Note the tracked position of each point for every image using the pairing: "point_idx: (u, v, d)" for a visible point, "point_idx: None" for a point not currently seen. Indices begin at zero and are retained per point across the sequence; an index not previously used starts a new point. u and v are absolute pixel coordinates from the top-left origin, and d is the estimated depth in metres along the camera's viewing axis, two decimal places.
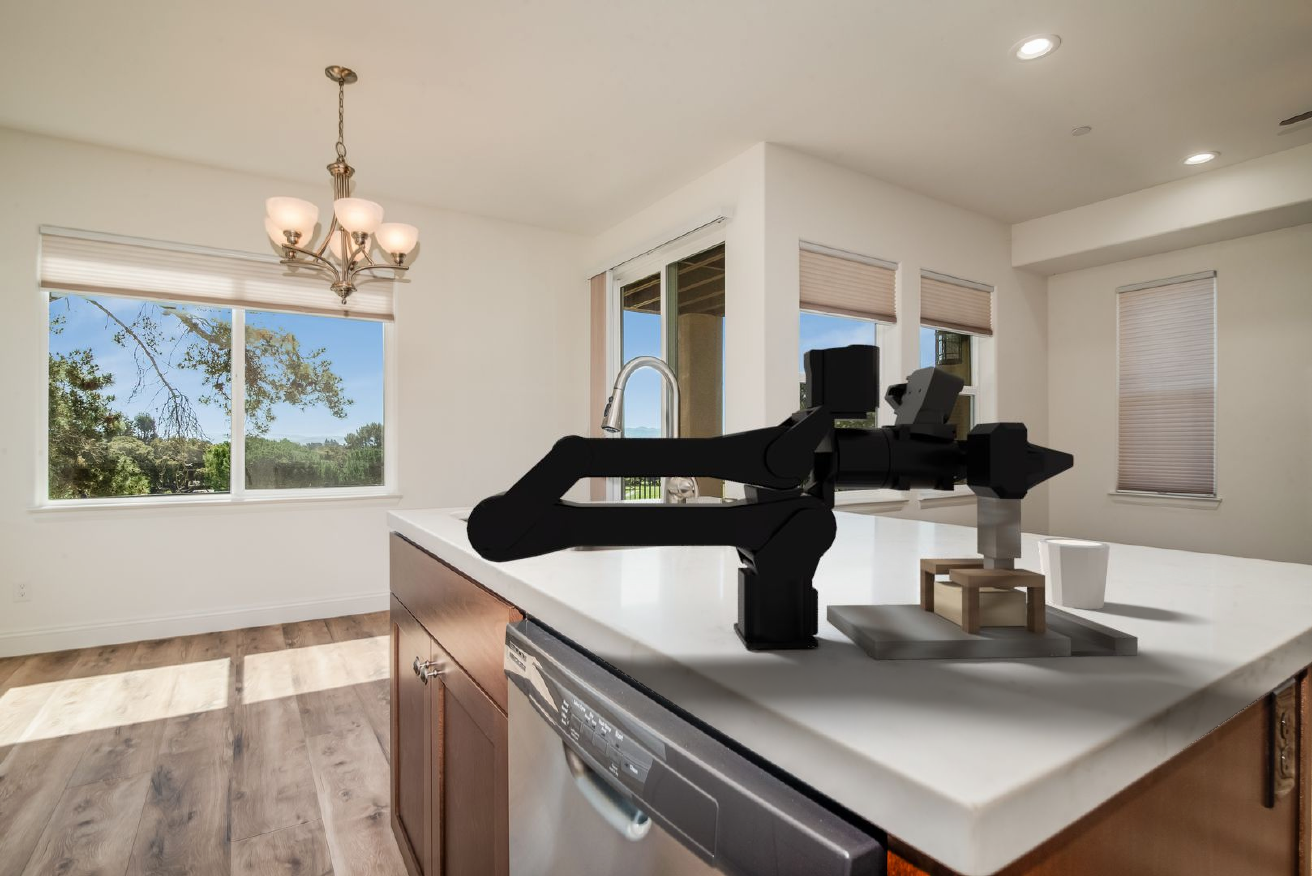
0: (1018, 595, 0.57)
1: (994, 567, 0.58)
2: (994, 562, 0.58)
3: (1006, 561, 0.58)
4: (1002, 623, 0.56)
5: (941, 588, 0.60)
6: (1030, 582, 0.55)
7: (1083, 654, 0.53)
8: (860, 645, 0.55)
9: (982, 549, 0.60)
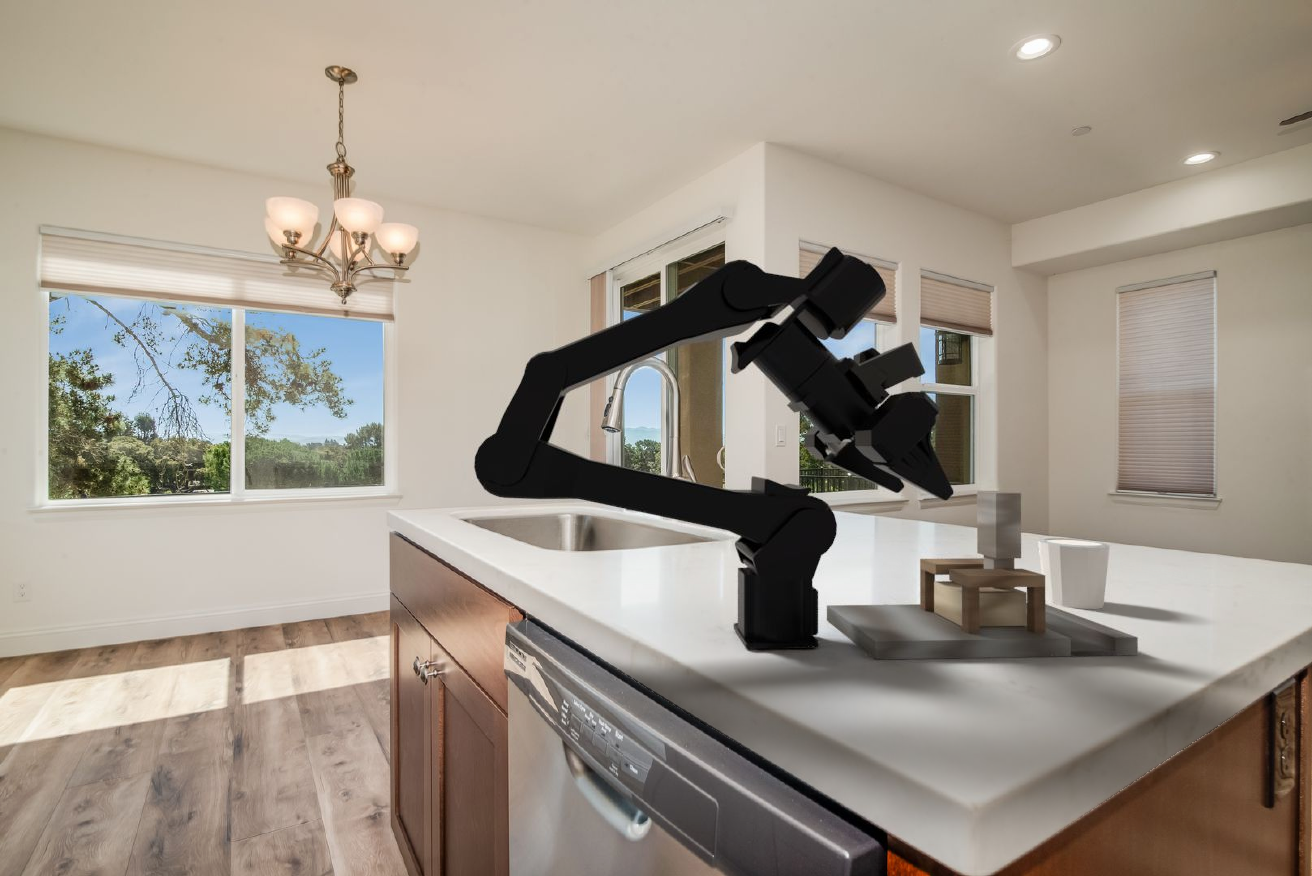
0: (1018, 595, 0.57)
1: (994, 567, 0.58)
2: (994, 562, 0.58)
3: (1006, 561, 0.58)
4: (1002, 623, 0.56)
5: (941, 588, 0.60)
6: (1030, 582, 0.55)
7: (1083, 654, 0.53)
8: (860, 645, 0.55)
9: (982, 549, 0.60)
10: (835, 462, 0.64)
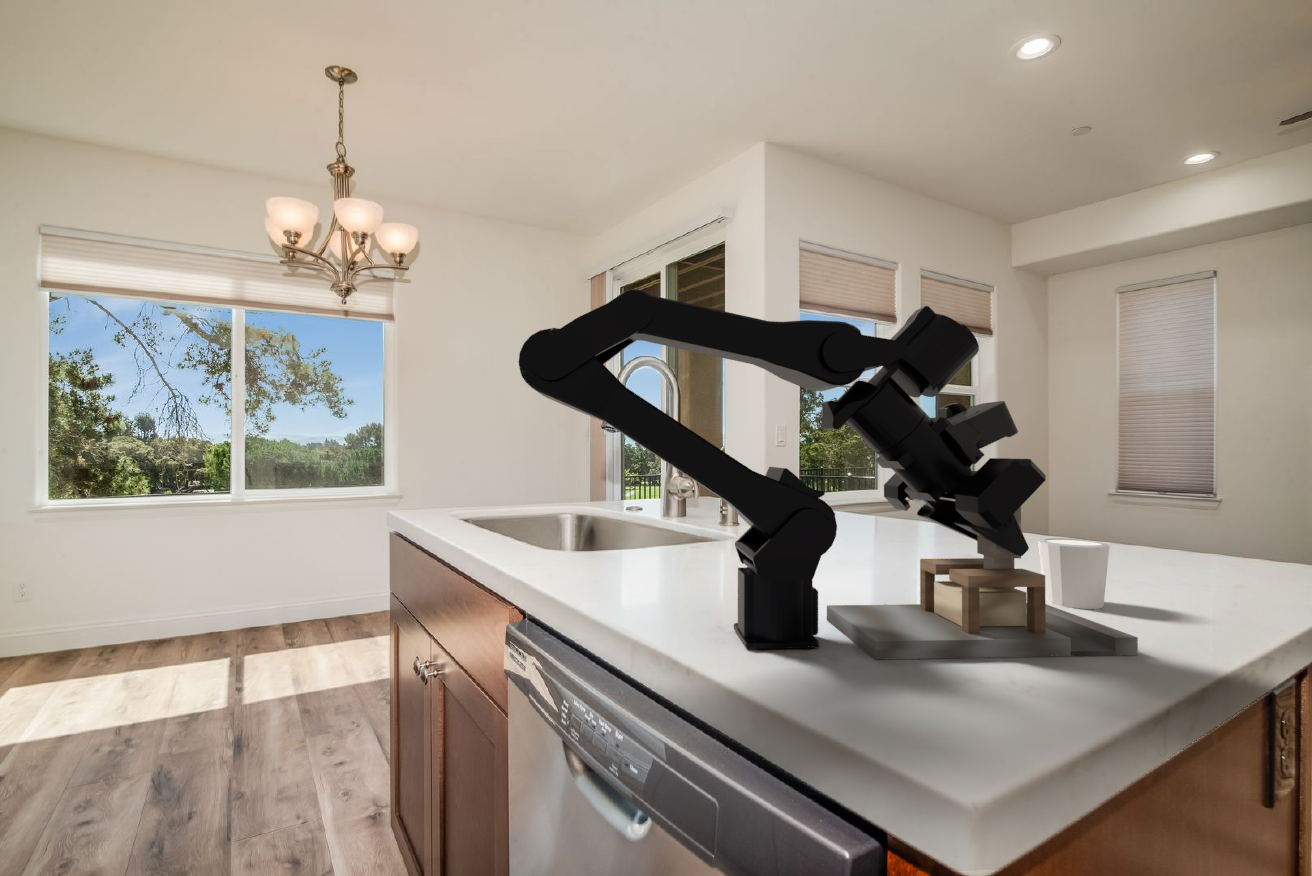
0: (1018, 595, 0.57)
1: (994, 567, 0.58)
2: (994, 562, 0.58)
3: (1006, 561, 0.58)
4: (1002, 623, 0.56)
5: (941, 588, 0.60)
6: (1030, 582, 0.55)
7: (1083, 654, 0.53)
8: (860, 645, 0.55)
9: (982, 549, 0.60)
10: (933, 517, 0.61)
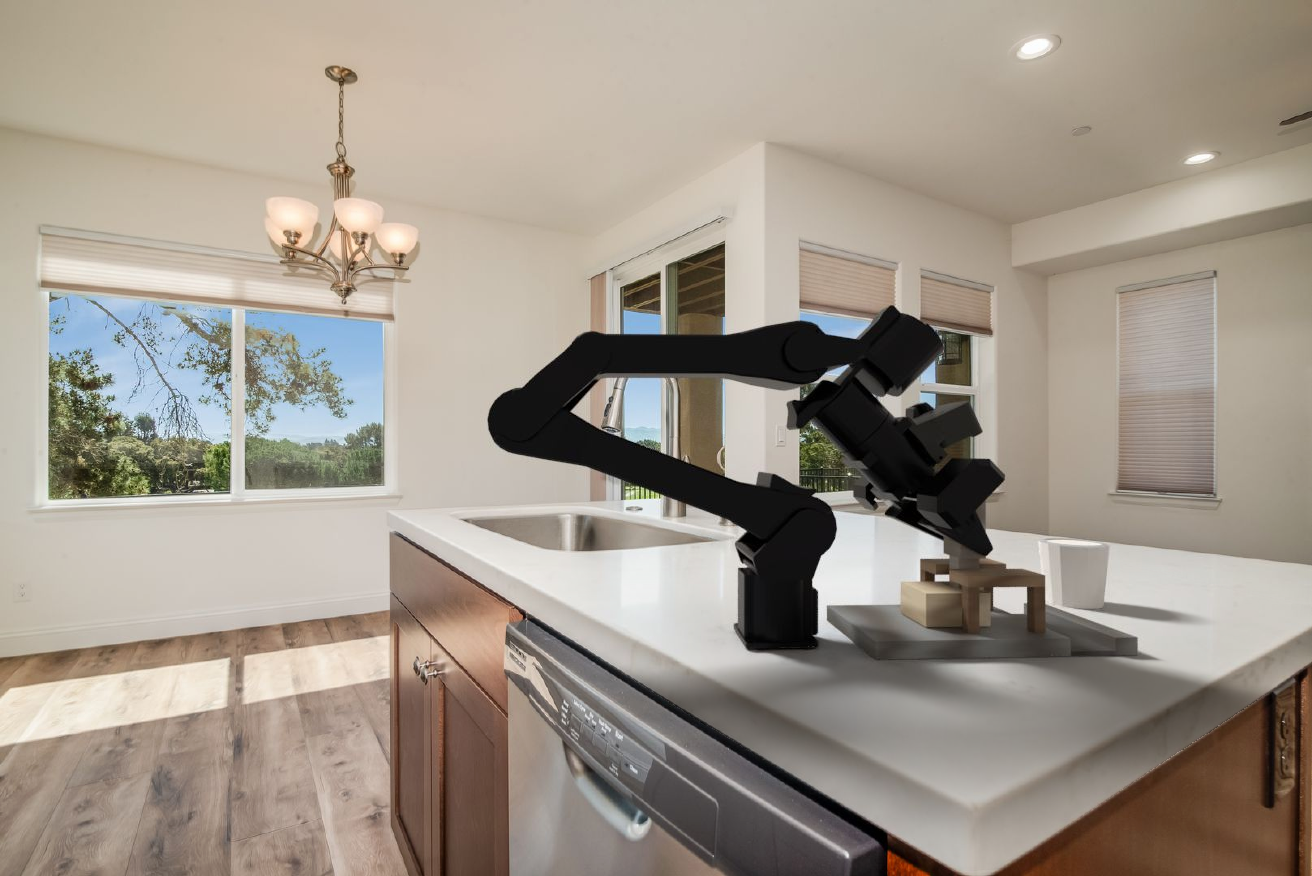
0: (982, 595, 0.56)
1: (959, 567, 0.58)
2: (958, 562, 0.58)
3: (971, 561, 0.58)
4: None
5: (906, 588, 0.60)
6: (1030, 582, 0.55)
7: (1083, 654, 0.53)
8: (860, 645, 0.55)
9: (948, 549, 0.59)
10: (899, 517, 0.61)
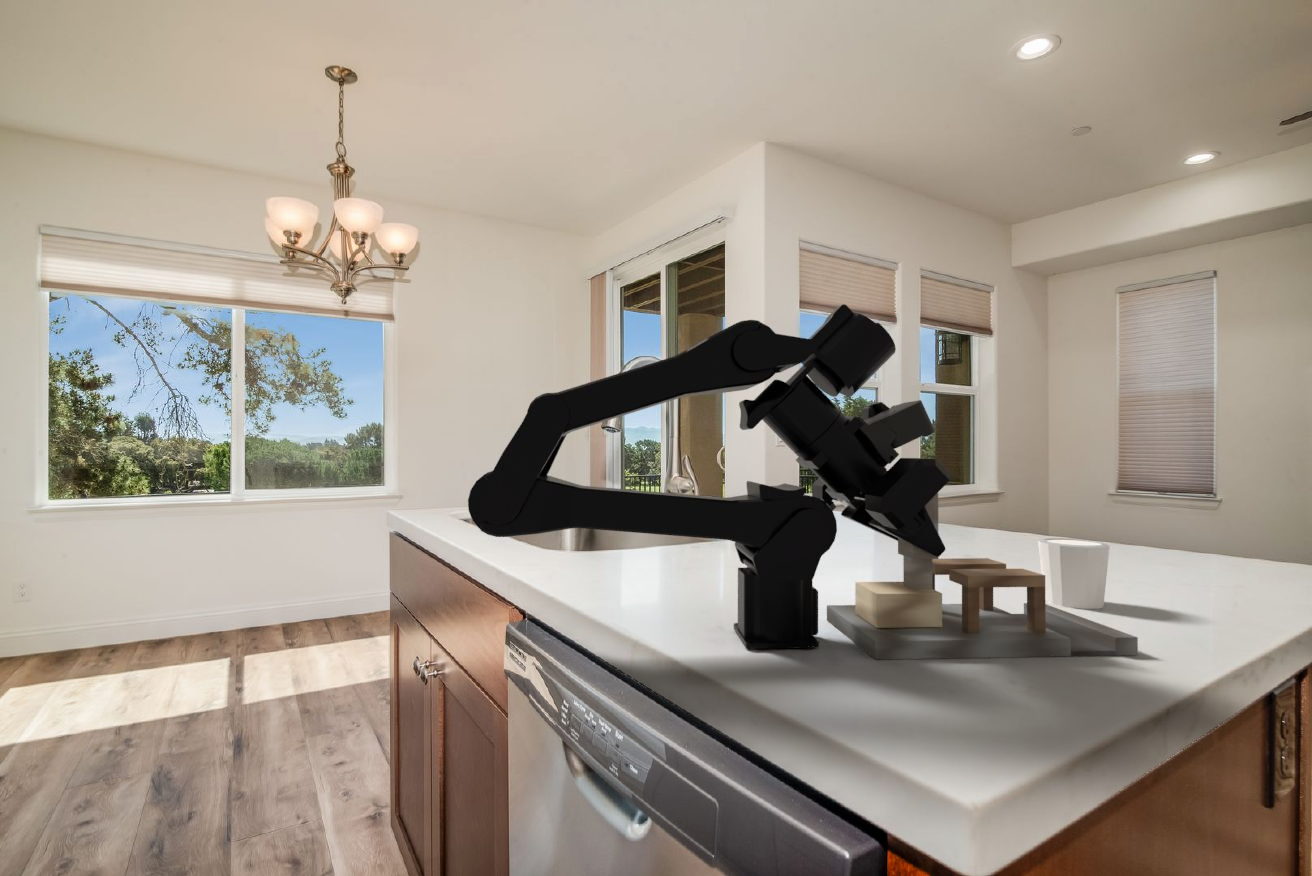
0: (934, 596, 0.56)
1: (912, 568, 0.58)
2: (911, 562, 0.58)
3: (924, 562, 0.58)
4: (917, 624, 0.56)
5: (860, 589, 0.59)
6: (1030, 582, 0.55)
7: (1083, 654, 0.53)
8: (860, 645, 0.55)
9: (902, 549, 0.59)
10: (854, 518, 0.61)
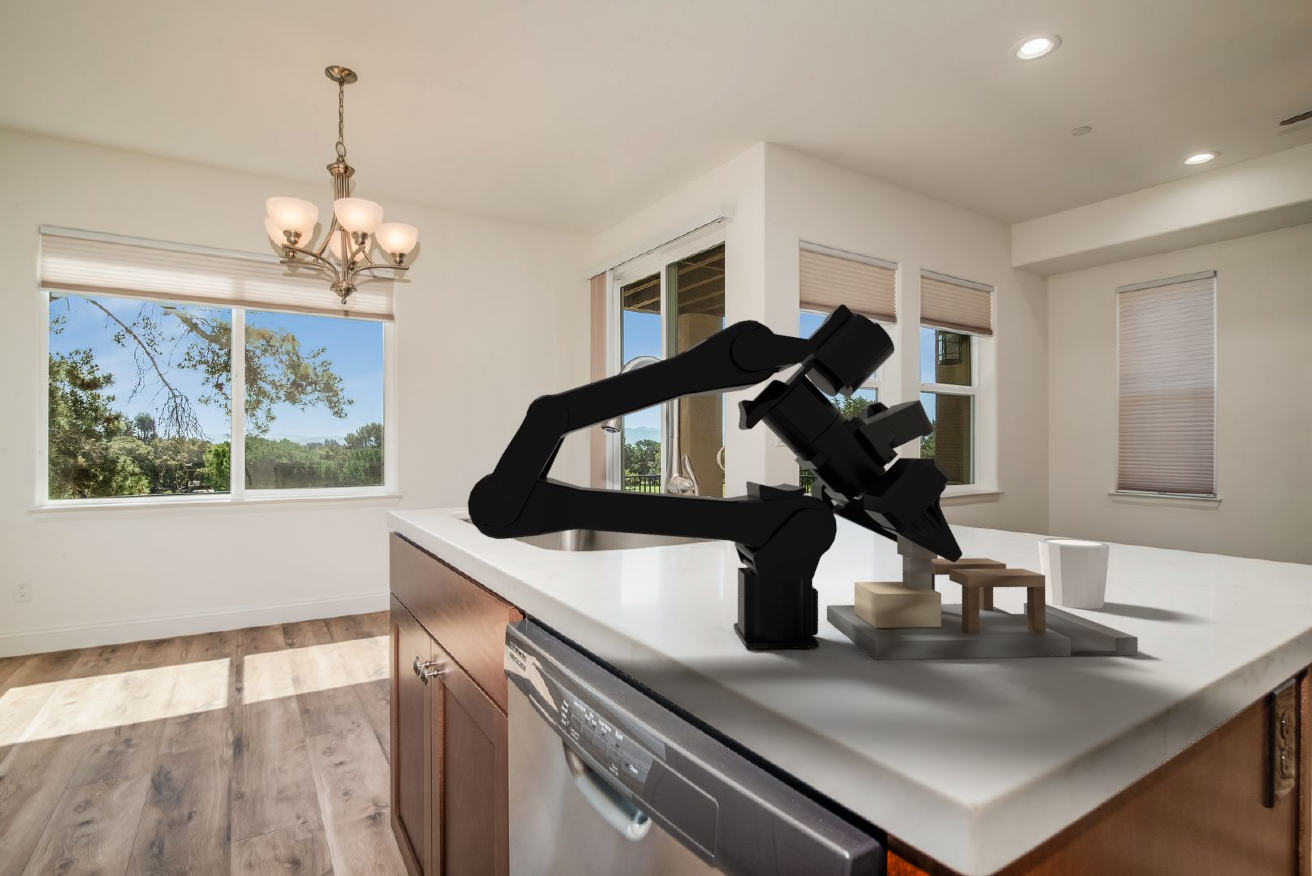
0: (933, 596, 0.56)
1: (911, 568, 0.58)
2: (910, 562, 0.58)
3: (923, 562, 0.58)
4: (916, 624, 0.56)
5: (859, 589, 0.59)
6: (1030, 582, 0.55)
7: (1083, 654, 0.53)
8: (860, 645, 0.55)
9: (901, 549, 0.59)
10: (842, 515, 0.63)
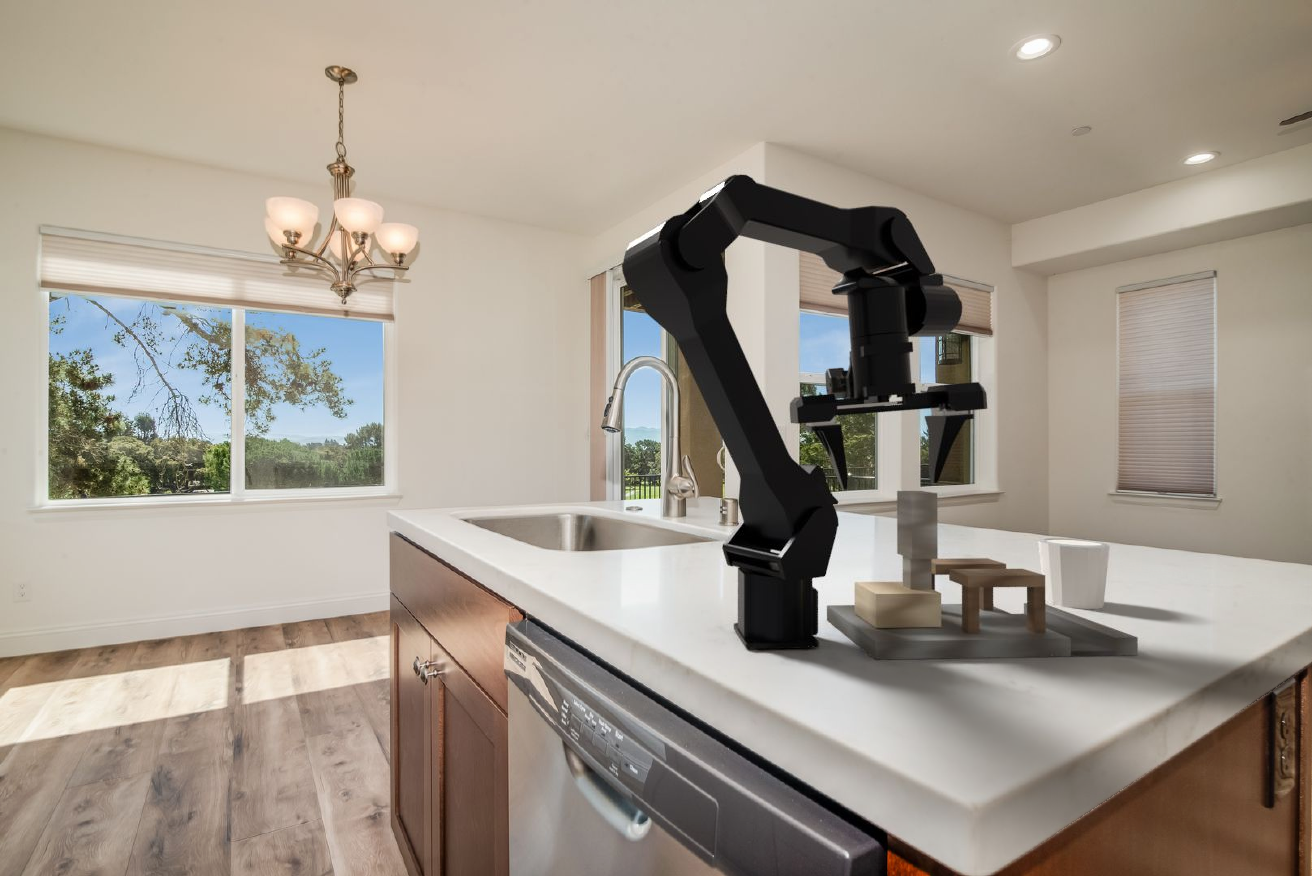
0: (933, 596, 0.56)
1: (911, 568, 0.58)
2: (910, 562, 0.58)
3: (923, 562, 0.58)
4: (916, 624, 0.56)
5: (859, 589, 0.59)
6: (1030, 582, 0.55)
7: (1083, 654, 0.53)
8: (860, 645, 0.55)
9: (901, 549, 0.59)
10: None
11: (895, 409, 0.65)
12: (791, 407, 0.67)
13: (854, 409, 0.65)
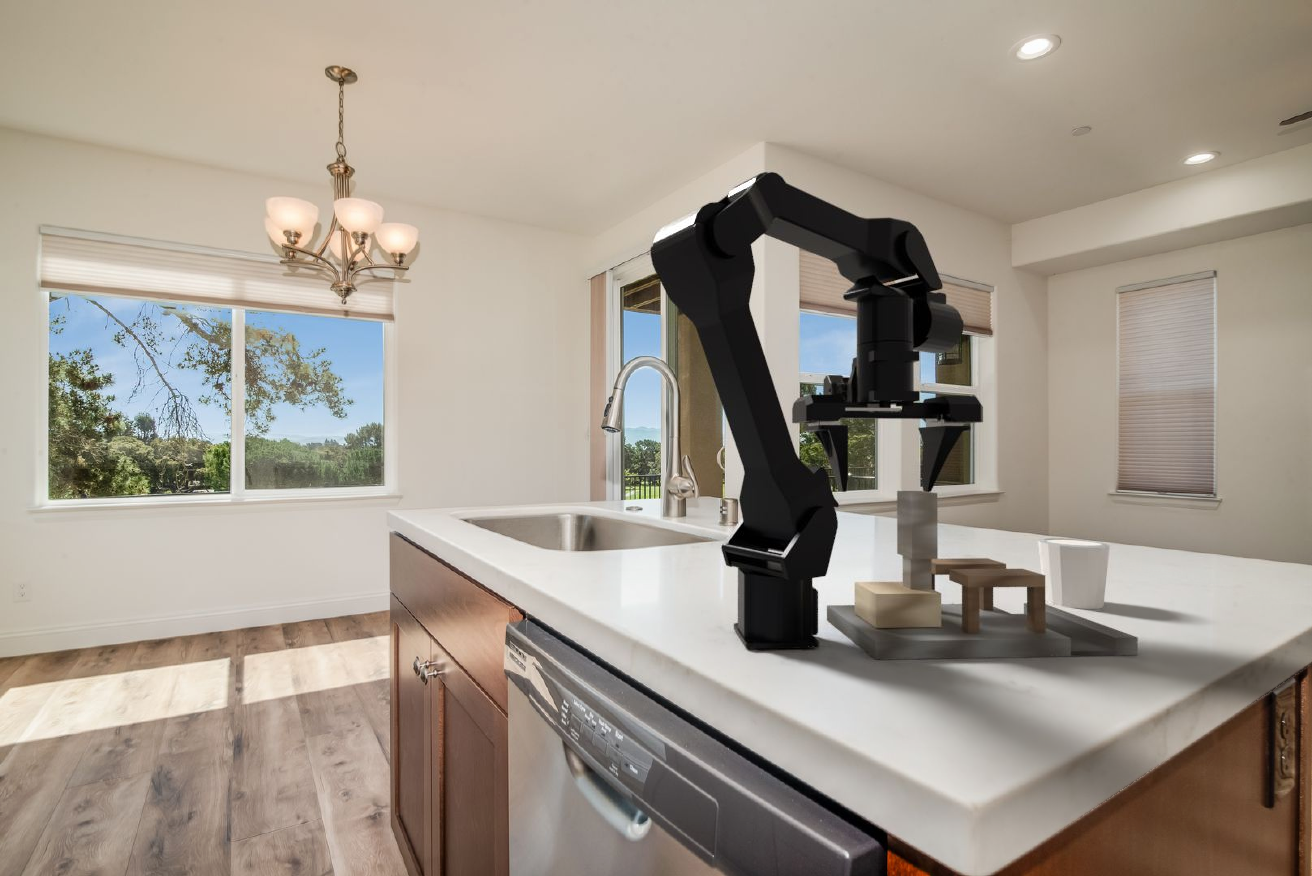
0: (933, 596, 0.56)
1: (911, 568, 0.58)
2: (910, 562, 0.58)
3: (923, 562, 0.58)
4: (916, 624, 0.56)
5: (859, 589, 0.59)
6: (1030, 582, 0.55)
7: (1083, 654, 0.53)
8: (860, 645, 0.55)
9: (901, 549, 0.59)
10: None
11: (896, 416, 0.67)
12: (796, 406, 0.67)
13: (857, 412, 0.66)
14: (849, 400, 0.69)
